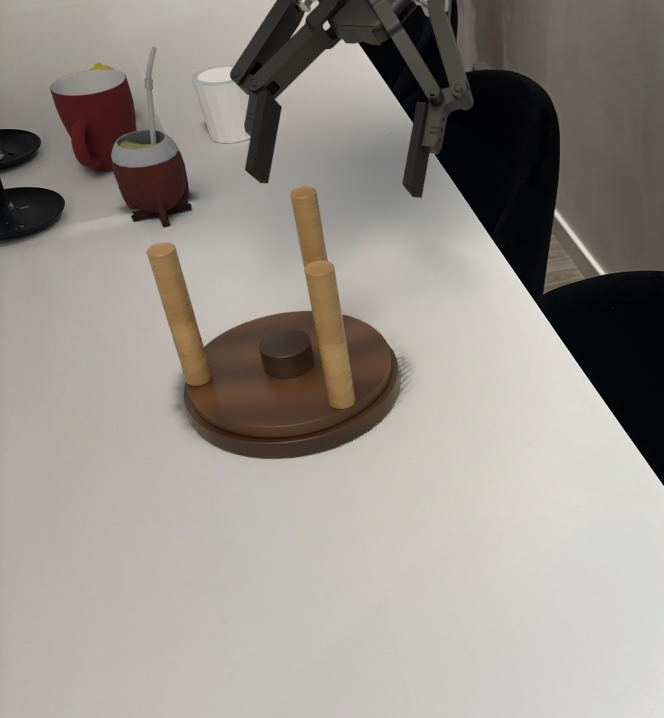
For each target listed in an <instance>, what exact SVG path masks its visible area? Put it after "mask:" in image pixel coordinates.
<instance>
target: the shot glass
mask: <svg viewBox="0 0 664 718" xmlns="http://www.w3.org/2000/svg"><path fill="white" fill-rule="evenodd" d="M234 65H235V64H234ZM234 65H233V64H225V65H216V66H211V67H207V68H203V69H201V70H199V71H197V72H196V73H194V74H193V75H192V76H191V83H192V87H193V89H194V92H195V95H196V98H197V102H198V104H199V107H200V110H201V113H202V116H203V120H204V122H205V125H206V129H207V132H208V134H209V138H210V139H211V140H212V141H213V142H216V143H220V144H233V143H235V144H236V143H240V142H244V141H247V140H250V138H251V136H249V135H248V134H247V133H246V132H245V128H244V123H245V119H246V118H245V117H246V111H247V106H248V100H249V95H247V94H246V93H245V92H244V91H243V90H242V89H241V88H240V87H239V86H238V85H237V84H236V83H235V82H234V81H233V80H232V79H231V78H230V72H231V70H232V68H233V67H234Z"/></svg>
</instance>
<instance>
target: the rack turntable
mask: <svg viewBox="0 0 664 718" xmlns="http://www.w3.org/2000/svg"><path fill="white" fill-rule="evenodd" d="M289 195H290V201H291V206H292V207H291V208H292V211H293V217H294V222H295V223H294V224H295V228H296V233H297V239H298V244H299V251H300V255H301V259H302V260H301V261H302V265H303V270H304V277H305V282H306V287H307V292H308V298H309V303H310V309H311V310H297V311H287V312H280V313H275V314H270V315H265V316H262V317H258V318H254V319H251V320H248V321H245V322H242V323H240V324H238V325H235V326H234V327H231V328H230V329H227V330H226V331H224V332H222V333H221V334H219V335H218V336H216V337H214V338H213V339H212V340H210V341H209V342H208V343H206V344H205V345H204V342H203V338H202V335H201V332H200V329H199V328H200V327H199V325H198V322H197V317H196V314H195V311H194V307H193V304H192V300H191V296H190V293H189V290H188V289H189V288H188V286H187V283H186V279H185V275H184V271H183V268H182V264H181V260H180V258H179V254H178V250H177V246H176V245H175V244H174V243H172V242H169V241H168V242H166V241H165V242H158V243H154V244H152V245H150V246H149V247H148V248H147V249H146V255H147V258H148V262H149V265H150V268H151V271H152V275H153V278H154V281H155V284H156V288H157V291H158V295H159V298H160V301H161V304H162V307H163V310H164V314H165V317H166V320H167V324H168V327H169V329H170V334H171V337H172V340H173V344H174V347H175V351H176V353H177V357H178V360H179V363H180V366H181V369H182V372H183V376H184V380H185V383H186V384H187V390H188V394H189V397H190V400H191V402H192V405H193V407H194V408H195V410H196V411H197V412H198V414H199V415H200V416H201V417H203V418H204V419H205V420H206V421H208V422H209V423H211V424H212V425H214V426H216V427H218V428H220V429H223V430H225V431H229V432H232V433H235V434H240V435H245V436H252V437H270V438H276V437H290V436H296V435H303V434H307V433H312V432H316V431H320V430H323V429H326V428H329V427H332V426H334V425H337V424H339V423H342V422H344V421H346V420H348V419H350V418H352V417H354V416H355V415H357V414H359V413H360V412H362V411H363V410H365V409H366V408H367V407H368V406H370V405H371V404H372V403H373V402H374V401H375V400H376V399H377V398H378V397H379V396H380V395H381V394H382V392H383V391H384V389H385V388H386V386H387V384H388V382H389V380H390V376H391V372H392V361H391V353H390V349H389V346H390V345H389V343H388V341H387V339H386V338H385V337H384V336H383V334H382V333H381V332H379V330H377V328H375V327H373V326H372V325H370V324H369V323H367V322H365V321H363V320H361V319H358V318H356V317H354V316H351V315H347V314H343V312H342V305H341V300H340V293H339V287H338V282H337V281H338V280H337V275H336V268H335V264H334V263H333V262H331V261H329V257H328V251H327V245H326V239H325V233H324V227H323V222H322V216H321V209H320V204H319V198H318V191H317V189H316V188H315V187H313V186H305V185H304V186H300V187H296V188H294V189H292V190H291V191H290V193H289ZM387 343H388V344H387ZM388 345H389V346H388Z"/></svg>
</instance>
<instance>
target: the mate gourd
mask: <svg viewBox="0 0 664 718" xmlns="http://www.w3.org/2000/svg"><path fill="white" fill-rule="evenodd" d="M157 50H158V49H157V47H155V46H152V47H151V50H150V53H149V57H148V61H147V62H146V63H147V64H146V70H145V78H144V79H143V81H144V89H145V90H146V102H147V112H148V123H149V129H141V130H137V131H134V132H131V133H128V134H125V135H123V136H122V137H120V138H118V140H117V141H116V142H115V144H114V146H113V149H112V153H111V157H112V167H113V175H114V178H115V181H116V183H117V186H118V189H119V192H120V194H121V197H122V199H123V200H124V202H125V204H126V206H127V207H128V208H129V210H130V211H131V210H133V211H131V213H132V214H131V215H130V218H131V219H132V222H134V223H135V222H141V221H146V220H151V219H156V218H158V219H159V220H160V223H161V226H162V228H167V227H170V226H171V221H170V219H169V216H171V215H175V214H180V213H187V212H190V211H192V210H193V205H192V203H190V202H189V200H186V199H189V193H190V191H189V188H190V186H189V179H188V173H187V168H186V163H185V161H184V158H183V155H182V153H181V150H180V149H179V147H178V145H177V142H176V141H175V140H174V139H173V138H172V137H171V136H169V134H167V133H166V132H164V131H162V130H158V129H156V120H155V117H156V116H155V107H154V98H153V97H154V96H153V90H154V79H153V78H152V74H153V68H154V63H155V59H156V52H157ZM183 200H184V201H183ZM138 209H139V210H138Z"/></svg>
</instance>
